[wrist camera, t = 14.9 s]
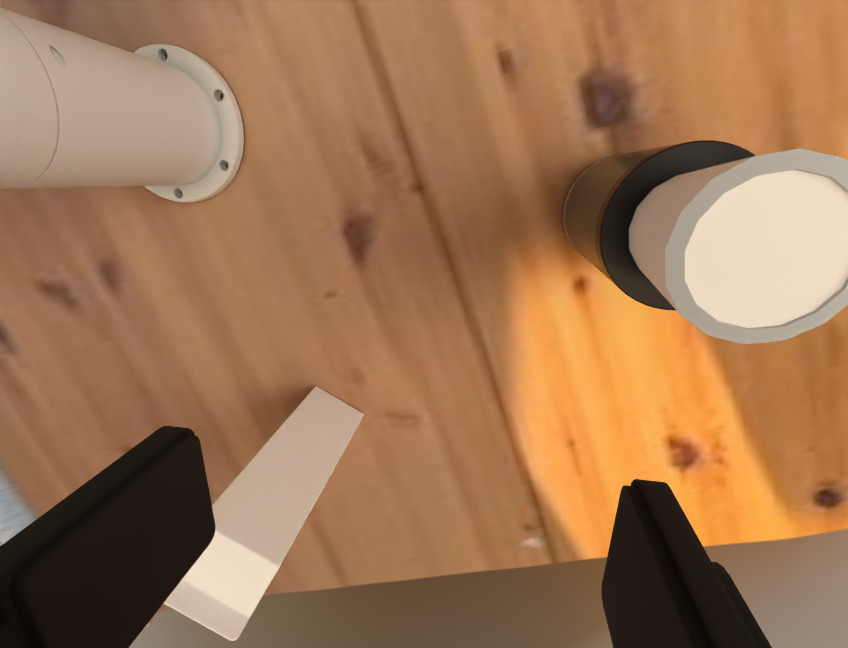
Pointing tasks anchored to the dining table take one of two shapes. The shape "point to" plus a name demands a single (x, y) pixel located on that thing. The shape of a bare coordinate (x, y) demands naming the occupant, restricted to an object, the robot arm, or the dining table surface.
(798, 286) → the shot glass
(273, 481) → the milk
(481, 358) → the dining table surface
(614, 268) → the green can
